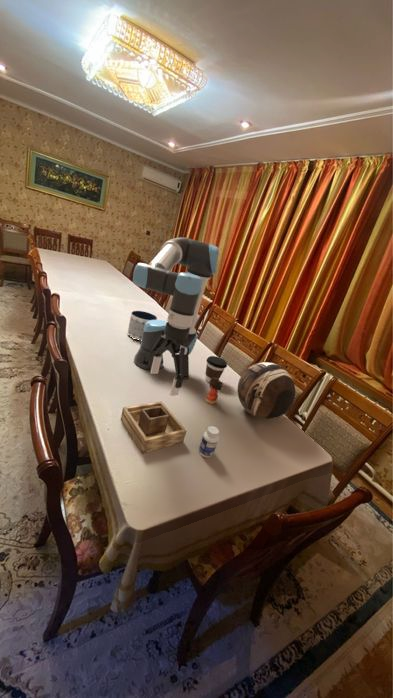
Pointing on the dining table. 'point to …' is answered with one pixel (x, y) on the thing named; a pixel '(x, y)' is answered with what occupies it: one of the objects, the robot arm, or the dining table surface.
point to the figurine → (213, 390)
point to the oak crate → (156, 441)
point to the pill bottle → (209, 442)
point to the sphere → (266, 390)
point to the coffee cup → (214, 367)
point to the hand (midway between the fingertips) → (163, 383)
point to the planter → (139, 323)
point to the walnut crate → (153, 420)
